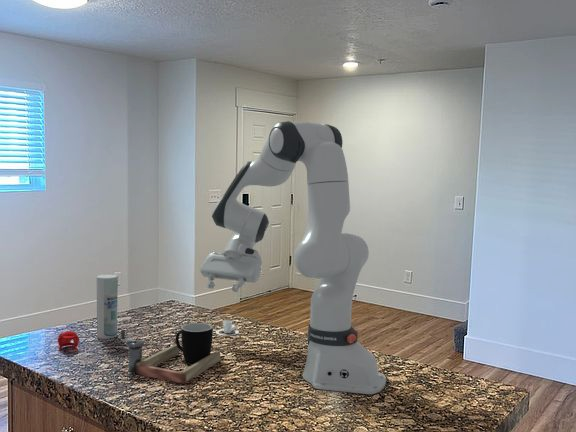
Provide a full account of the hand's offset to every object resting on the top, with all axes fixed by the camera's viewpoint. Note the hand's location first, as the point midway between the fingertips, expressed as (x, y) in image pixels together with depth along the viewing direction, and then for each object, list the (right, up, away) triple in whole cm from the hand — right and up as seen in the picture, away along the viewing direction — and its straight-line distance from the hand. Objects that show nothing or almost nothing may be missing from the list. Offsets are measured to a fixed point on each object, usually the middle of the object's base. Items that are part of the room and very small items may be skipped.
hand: (222, 289), depth 173 cm
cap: (-46, -17, -7) cm, 50 cm away
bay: (-9, -19, -21) cm, 30 cm away
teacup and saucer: (+3, -17, +15) cm, 23 cm away
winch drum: (-22, -19, -23) cm, 37 cm away
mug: (-7, -19, -15) cm, 25 cm away
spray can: (-39, -17, +6) cm, 42 cm away
